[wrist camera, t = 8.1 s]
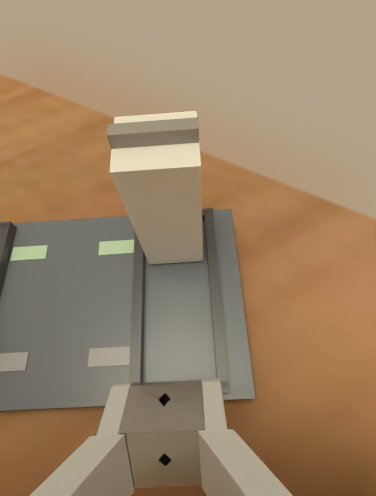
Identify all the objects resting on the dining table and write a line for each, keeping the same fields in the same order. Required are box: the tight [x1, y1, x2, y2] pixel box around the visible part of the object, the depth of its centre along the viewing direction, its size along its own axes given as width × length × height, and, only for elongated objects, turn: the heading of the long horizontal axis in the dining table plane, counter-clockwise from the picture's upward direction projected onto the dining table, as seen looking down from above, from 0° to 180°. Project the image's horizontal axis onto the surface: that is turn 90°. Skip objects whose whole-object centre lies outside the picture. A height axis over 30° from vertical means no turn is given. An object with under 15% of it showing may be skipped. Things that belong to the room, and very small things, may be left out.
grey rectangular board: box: [0, 208, 255, 411], centre depth 19 cm, size 22×12×2 cm, turn 92°
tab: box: [107, 111, 203, 264], centre depth 16 cm, size 4×3×10 cm
